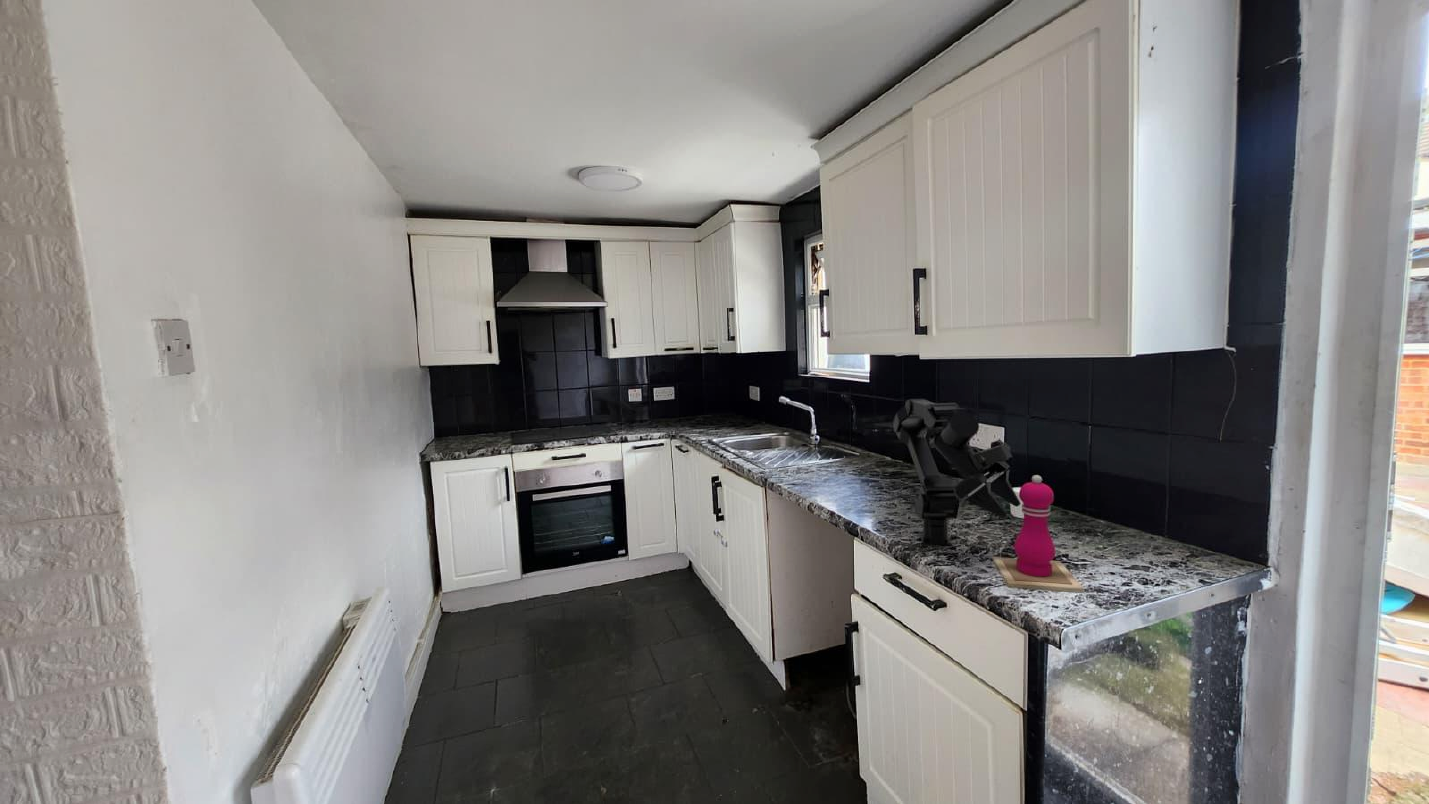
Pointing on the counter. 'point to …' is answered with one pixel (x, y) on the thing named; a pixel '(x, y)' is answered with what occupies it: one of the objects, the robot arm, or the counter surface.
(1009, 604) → the counter surface
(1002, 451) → the robot arm
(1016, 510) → the white cup
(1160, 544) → the counter surface
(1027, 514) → the pepper mill
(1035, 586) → the beech tray
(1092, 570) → the counter surface
